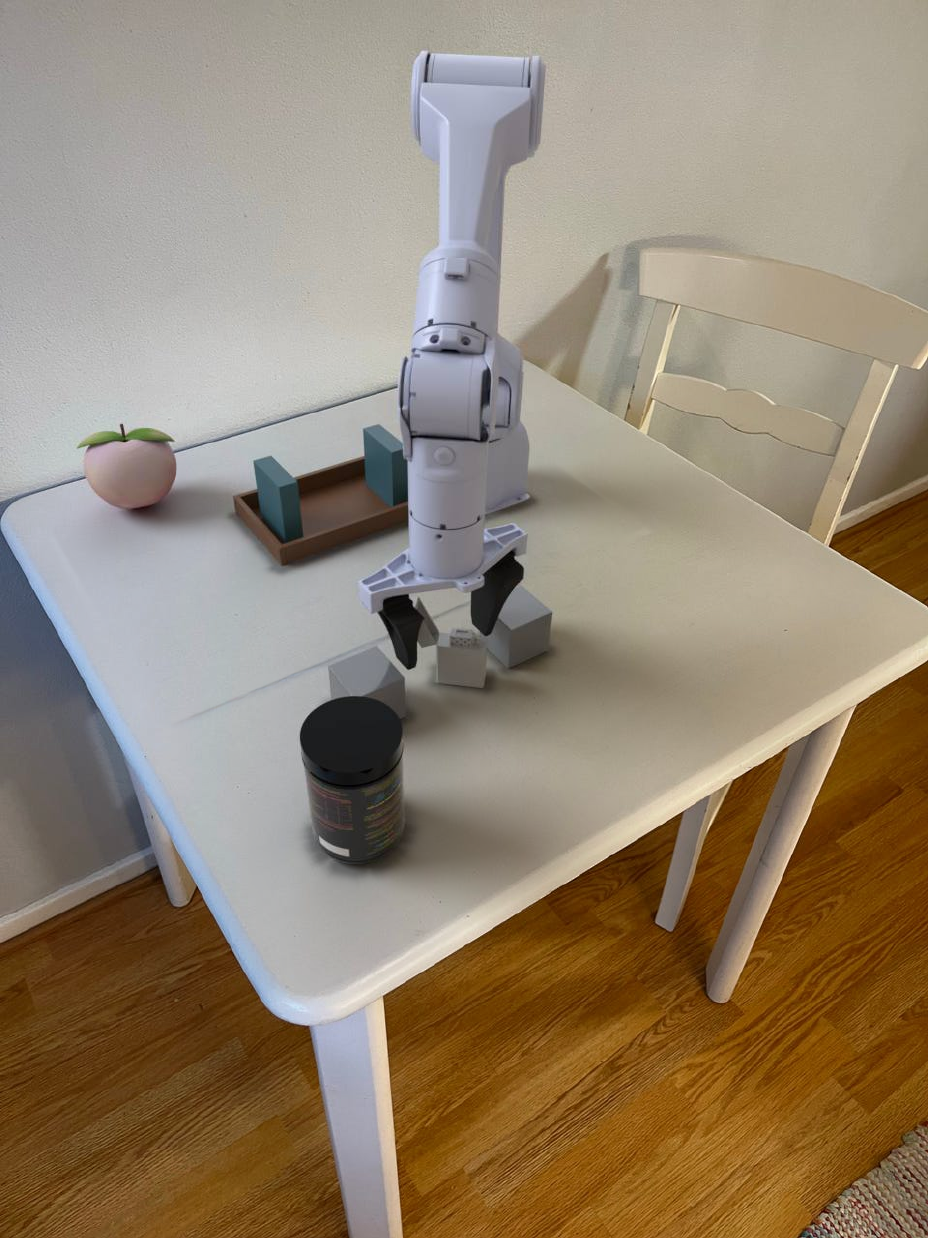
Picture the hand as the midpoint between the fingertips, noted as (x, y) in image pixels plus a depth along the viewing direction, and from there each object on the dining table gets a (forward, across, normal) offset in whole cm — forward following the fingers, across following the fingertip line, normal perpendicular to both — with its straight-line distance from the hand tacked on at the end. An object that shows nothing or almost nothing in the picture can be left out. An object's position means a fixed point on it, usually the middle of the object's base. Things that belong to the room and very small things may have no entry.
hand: (444, 645), depth 75 cm
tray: (+4, +4, +27) cm, 28 cm away
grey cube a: (+4, +8, 0) cm, 8 cm away
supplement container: (+4, -14, -10) cm, 18 cm away
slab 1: (+3, -2, +27) cm, 27 cm away
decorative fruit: (+4, -13, +39) cm, 41 cm away
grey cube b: (+4, -8, 0) cm, 8 cm away
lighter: (+4, 0, 0) cm, 4 cm away
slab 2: (+3, +10, +27) cm, 29 cm away
